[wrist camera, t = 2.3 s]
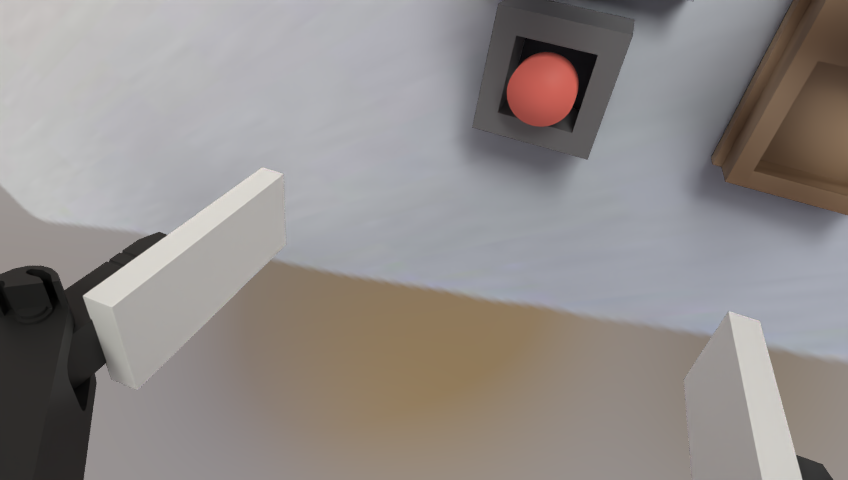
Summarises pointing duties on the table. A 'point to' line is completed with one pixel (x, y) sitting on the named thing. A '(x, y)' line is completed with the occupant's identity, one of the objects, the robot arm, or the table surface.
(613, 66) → the button housing
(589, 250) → the table surface
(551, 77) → the button
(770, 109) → the wooden tray
